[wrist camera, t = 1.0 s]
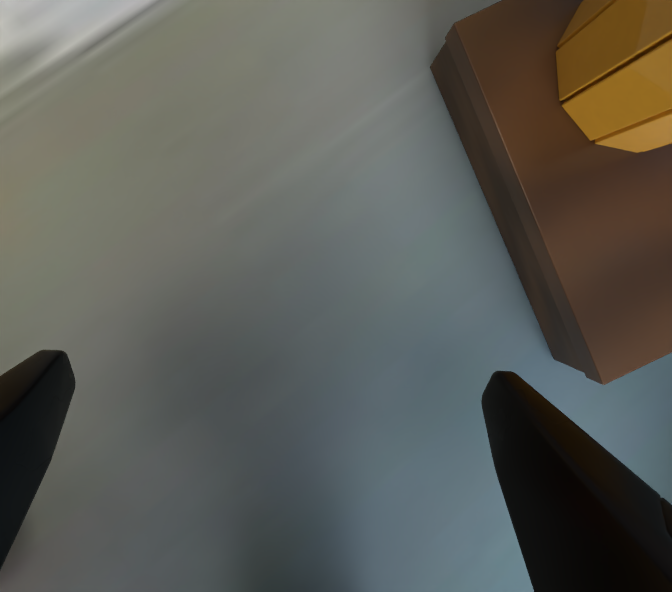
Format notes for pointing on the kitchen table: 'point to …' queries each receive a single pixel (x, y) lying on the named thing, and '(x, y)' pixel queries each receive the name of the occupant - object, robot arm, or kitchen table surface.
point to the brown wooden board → (562, 192)
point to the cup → (619, 72)
